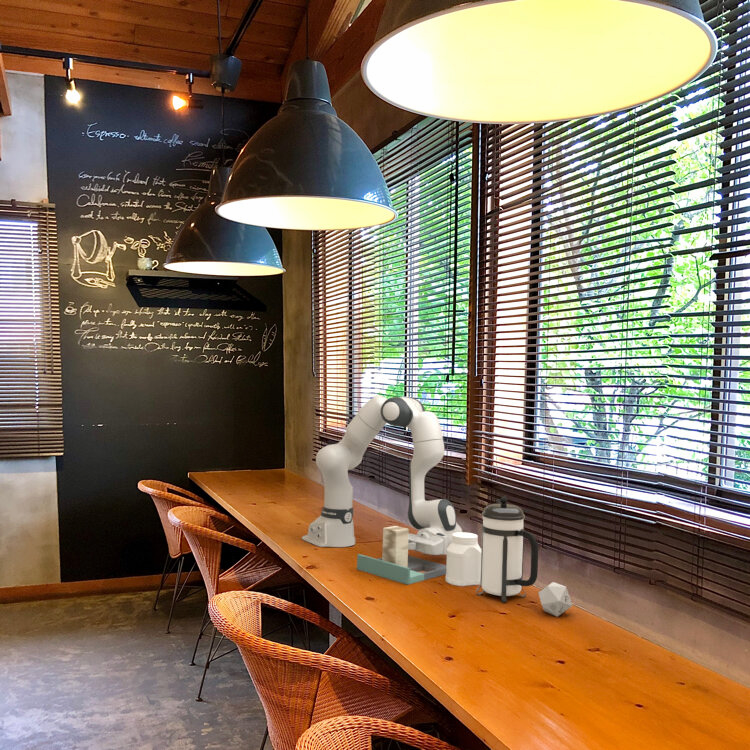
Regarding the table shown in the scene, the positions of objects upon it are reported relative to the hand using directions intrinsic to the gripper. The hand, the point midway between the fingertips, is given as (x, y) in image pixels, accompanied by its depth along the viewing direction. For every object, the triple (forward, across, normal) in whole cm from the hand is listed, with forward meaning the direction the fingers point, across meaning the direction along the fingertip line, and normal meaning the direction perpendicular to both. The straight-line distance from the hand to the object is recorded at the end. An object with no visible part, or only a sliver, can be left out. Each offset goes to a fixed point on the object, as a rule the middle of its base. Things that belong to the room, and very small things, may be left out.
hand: (401, 546), depth 235 cm
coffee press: (-5, +38, +9) cm, 40 cm away
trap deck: (-2, 0, +8) cm, 9 cm away
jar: (-8, +20, +9) cm, 24 cm away
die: (-3, +56, +9) cm, 57 cm away
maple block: (+3, 0, +6) cm, 7 cm away
